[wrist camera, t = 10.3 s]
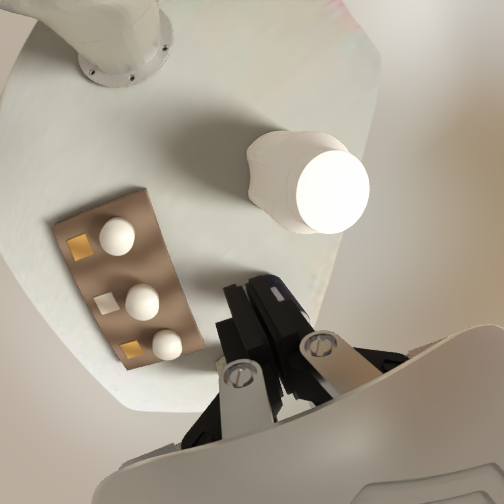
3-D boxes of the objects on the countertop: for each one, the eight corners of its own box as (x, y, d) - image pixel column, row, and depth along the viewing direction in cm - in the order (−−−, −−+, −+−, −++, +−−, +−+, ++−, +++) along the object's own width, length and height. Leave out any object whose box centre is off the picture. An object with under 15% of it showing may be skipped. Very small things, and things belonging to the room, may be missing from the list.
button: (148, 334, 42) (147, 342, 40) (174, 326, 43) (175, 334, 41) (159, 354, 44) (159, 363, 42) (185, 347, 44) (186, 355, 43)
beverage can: (250, 307, 48) (274, 356, 37) (244, 277, 45) (268, 322, 35) (283, 298, 49) (314, 343, 38) (280, 267, 46) (313, 309, 36)
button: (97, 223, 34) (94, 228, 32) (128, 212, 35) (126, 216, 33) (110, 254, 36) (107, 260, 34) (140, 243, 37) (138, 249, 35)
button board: (56, 222, 35) (51, 227, 33) (146, 188, 37) (144, 191, 35) (127, 362, 46) (127, 371, 44) (203, 340, 48) (205, 349, 46)
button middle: (121, 289, 37) (119, 297, 35) (151, 279, 37) (151, 287, 36) (134, 316, 39) (133, 324, 37) (163, 307, 39) (163, 315, 37)
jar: (245, 131, 37) (287, 131, 24) (311, 130, 39) (376, 134, 26) (248, 214, 42) (288, 256, 28) (311, 208, 44) (370, 243, 31)
